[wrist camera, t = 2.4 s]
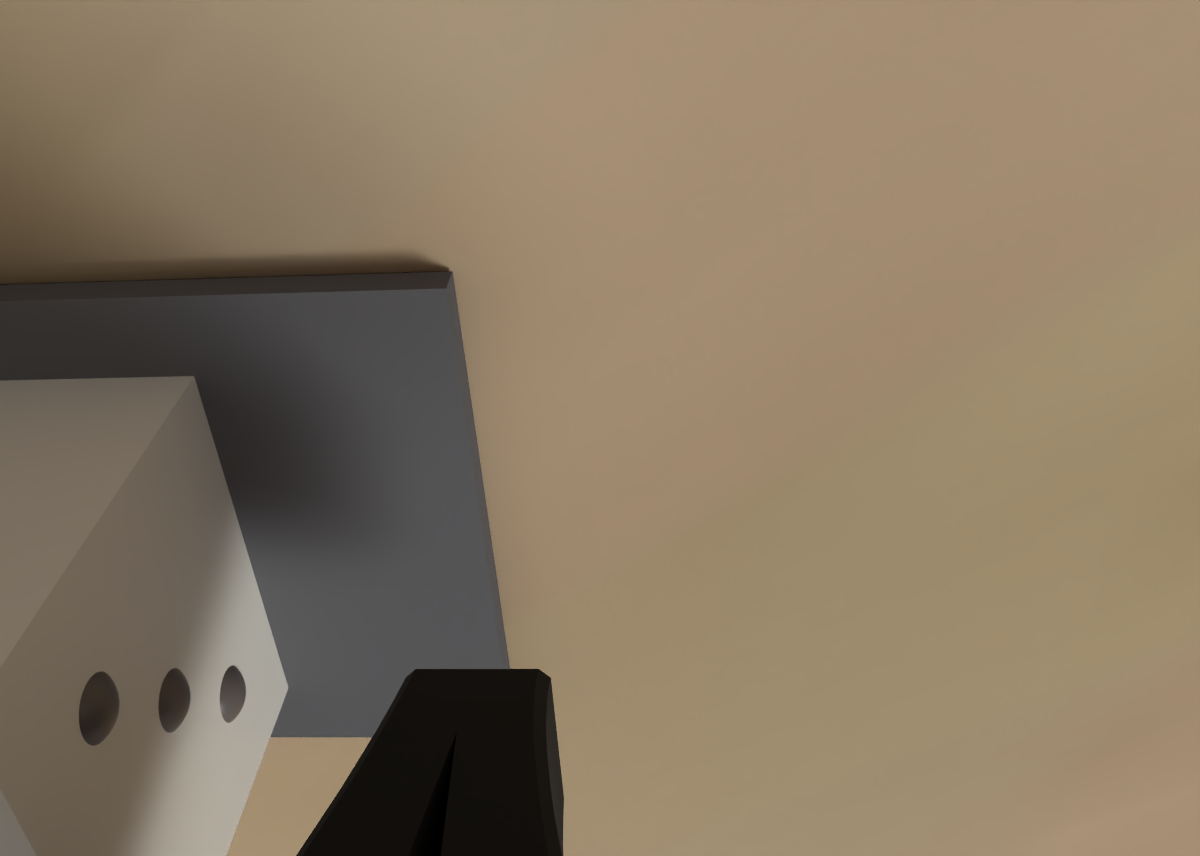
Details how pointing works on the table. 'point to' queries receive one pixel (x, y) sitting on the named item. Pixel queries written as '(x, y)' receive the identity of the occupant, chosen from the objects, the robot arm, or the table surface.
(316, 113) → the table surface
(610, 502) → the table surface
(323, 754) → the table surface
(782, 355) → the table surface
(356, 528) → the mat
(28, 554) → the die
